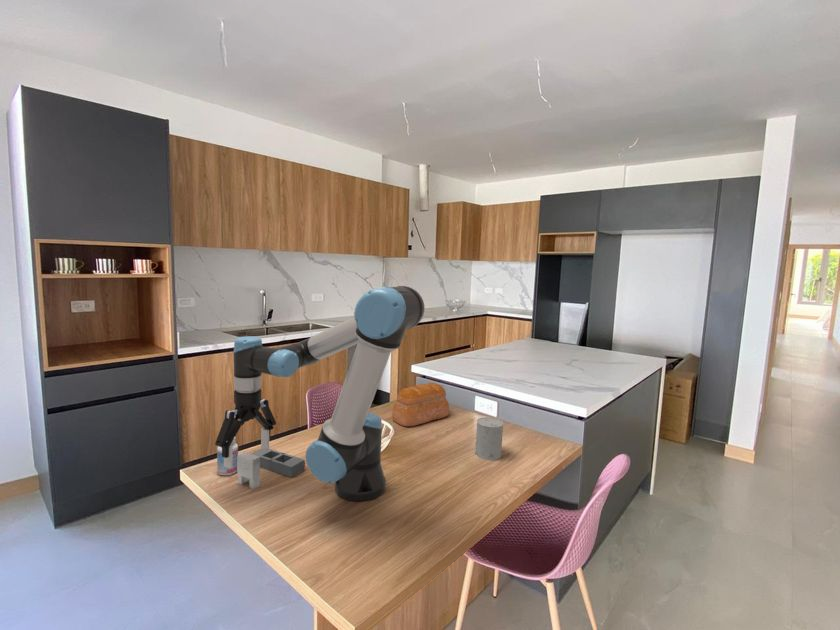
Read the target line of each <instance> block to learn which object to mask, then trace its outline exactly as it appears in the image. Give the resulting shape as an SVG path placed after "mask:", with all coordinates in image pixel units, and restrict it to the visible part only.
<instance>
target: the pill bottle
mask: <svg viewBox="0 0 840 630" xmlns="http://www.w3.org/2000/svg"><path fill="white" fill-rule="evenodd" d="M231 445H232V446H233V468H231V469H230V468H228V467H225V466H224V457H222V447H219V446H217V449H216V458H217V459H216V460H217V461H216V466H217V468H216V470H217V472H216V473H218V475H220V476H231V475H234V474H235V473H237V455H239V446H238V445H239V444H238V443H236V437H235V438H234V439H233V441H232V443H231Z"/></svg>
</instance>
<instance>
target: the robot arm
mask: <svg viewBox="0 0 840 630" xmlns="http://www.w3.org/2000/svg"><path fill="white" fill-rule="evenodd" d="M424 302H425V301H424V300H423V297H422V296H421V294H420V293H419V292H418V291H417V290H416V289H414V288H412V287H411V286H410V287H409V286H408V285H407V286H406V285H400V286H392V287H391V286H379V287H376V288H374V289H373V288H372V289H371V290H368V291H367V292H365V293H364V294H362V295H361V296H360V297H359V299H358V301H357V303H356V304H355V307H354V314H353V315H354V316H353V317H352V318H349V319H346V320H345V321H343V322H341V323H339V324H336V325H334V326H332V327H330V328H328V329H326V330H324V331H321V332H319V333H316V334H315V335H313V336H311V337H308V338H306V339H303V340H301V341H299V342H296V343H292V344H288V345H282V346H280V347H270V346H269V347H268V346H263V340H262V338H261V337H260V336H255V335H254V336H251V335H250V336H239V337H237V338H236V339H235V340H234V344H233V345H234V346H233V352H232V353H233V389H234V391H233V403H234V406H235V407H234V409H232V410H228V409H227V410H226V411H225V412H224V418H223V422H222V425H221V427H220V430H219V432H218V435H217V437H216V440H215V443H214V445H215V446H217V447H218V446H219V447H222V457H224V466H225V467H228V468H230V469H231V468H233V446H232V445H231V443H232V441H233V439H234V438H235V439H236V435H237V434H238V433H239V430H240V428H241V427H242V426H243V425H244V424H245V423H246V422H249V421H250V420H254V419H255V420H256V421H257V422H258V423H259V425H261V427H262V428H260V449H264V450H267V451H268V450H269V449H270V439H271V430H273V429H274V426H276V424H277V422H276V421H277V420H276V419H275V418H274V417H275V416H274V415H273V412H272V410H271V408H270V405H269V403H270V402H269V400H268V399H265V398H262V389H261V388H262V375H263V374H266V375H269V376H274V377H277V378H281V377H282V378H290V377H292V376H293V375H294V374H295V373H296V372H297V371H298V369H299V368H303V367H306V366H310V365H314V364H316V363H318V362H319V361H320V360H323V359H325V358H328V357H329V356H333V355H334V354H337V353H339V352H342V351H344V350H347V349H348V348H350V347H353V346H356V347H355V351H354V354H353V356H352V359H351V361H350V364H349V368H348V370H347V373H346V376H345V379H344V381H343V384H342V387H341V390H340V393H339V396H338V399H337V402H336V405H335V407H334V410H333V413H332V416H331V418H329V419H326V420H325V421H324V422H323V424H322V427H321V429H320V433H319V435H318V438H317V439H316V440H314V441H313V442H311V443H310V445H309V446H308V447H307V449H306V452H305V462H306V465H307V467H308V468H309V471H310V473H311V474H312V475H313V477H315V478H316V479H317V480H319V481H320V482H323V483H327V484H331V483H334V484H335V485H334V486H335V487H334V491H335V493H336V494H337V496H339V497H341V498H342V499H345V500H347V501H353V502H364V501H365V502H366V501H370V500H374V499H376V498H378V497H380V496H381V495H383V494H384V492H385V491H386V485H387V484H386V482H387V481H386V480H387V479H386V477H385V474H384V470H383V467H382V464H381V463H382V462H381V455H382V433H383V432H382V429H383V427H382V418H381V417H380V415H378V414H375V413H372V412H370V409H371V406H372V403H373V401H374V399H375V396H376V393H377V391H378V388H379V384H380V383H381V380H382V377H383V374H384V372H385V369H386V367H387V363H388V361H389V359H390V356H391V354H392V352H393V351H396V350H398V349H399V348H400V346H401V343H402V341H403V339H404V336H405V334H406V331H407V330H411V329H412V328H415V327H416V326H417V325H418V324H419V323H420V322H421V321H422V320H423V317H424V314H425V303H424ZM259 410H261V411H262V413H263V414H262V413H261V412H260V411H259Z"/></svg>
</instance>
